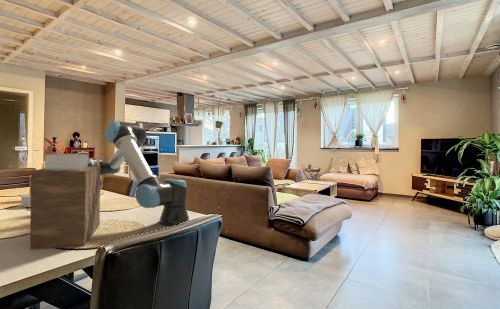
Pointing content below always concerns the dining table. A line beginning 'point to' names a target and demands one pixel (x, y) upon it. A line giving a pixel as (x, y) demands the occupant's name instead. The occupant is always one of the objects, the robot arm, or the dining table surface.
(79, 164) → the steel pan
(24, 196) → the ramekin
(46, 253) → the dining table surface
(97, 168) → the walnut cabinet
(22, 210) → the dining table surface
